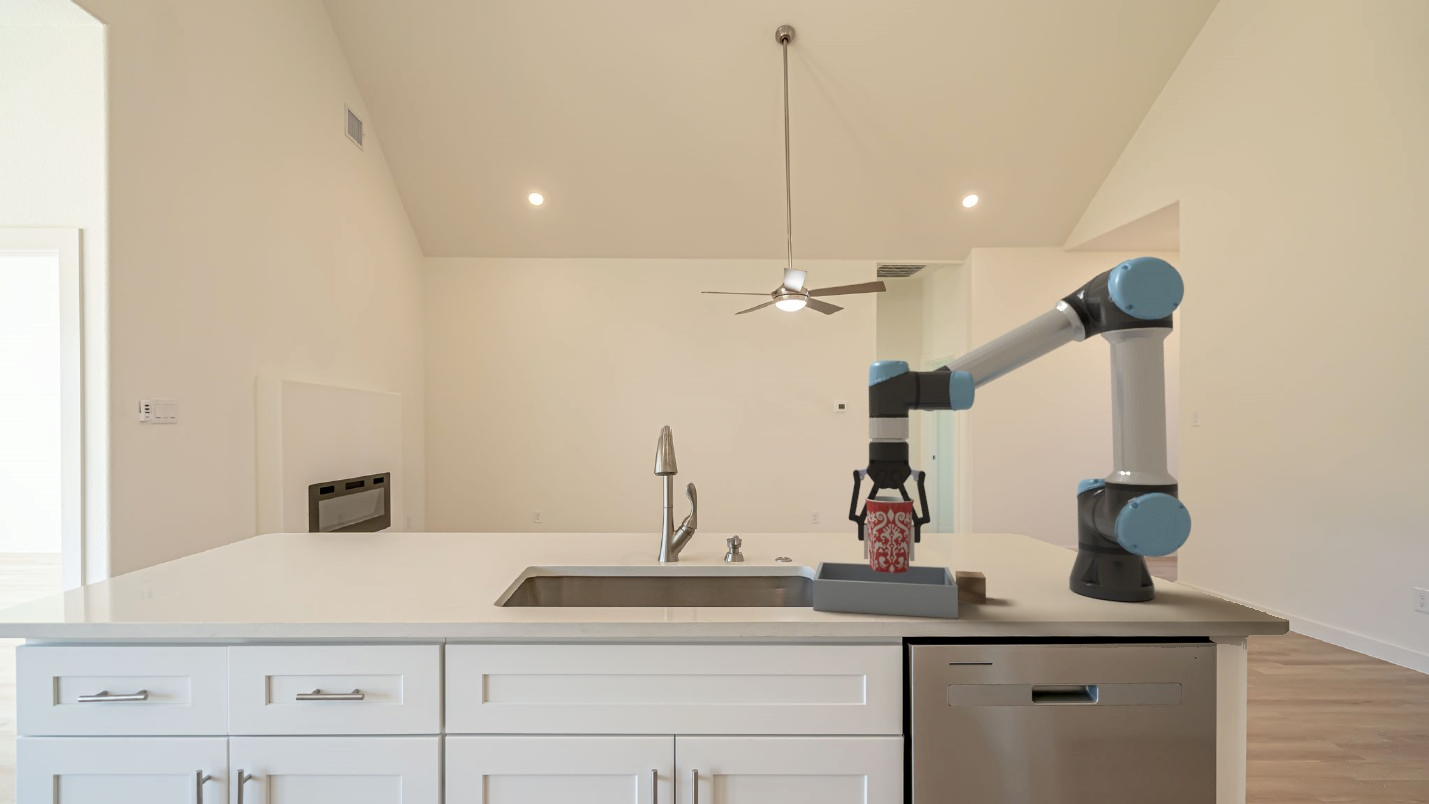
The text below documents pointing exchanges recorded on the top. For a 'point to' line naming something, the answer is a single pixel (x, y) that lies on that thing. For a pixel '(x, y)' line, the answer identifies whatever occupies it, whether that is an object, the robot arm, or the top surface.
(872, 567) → the mug
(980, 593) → the cube
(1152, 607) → the top surface
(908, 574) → the tote
